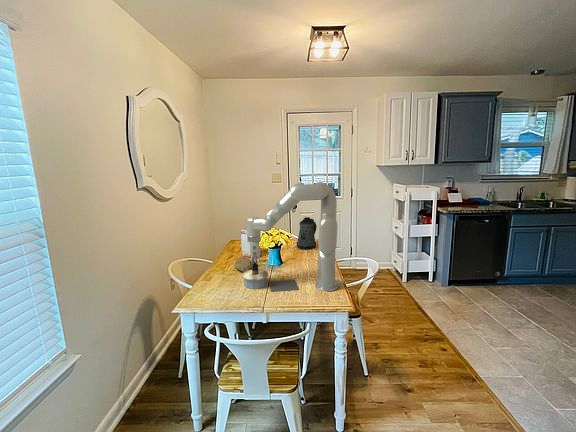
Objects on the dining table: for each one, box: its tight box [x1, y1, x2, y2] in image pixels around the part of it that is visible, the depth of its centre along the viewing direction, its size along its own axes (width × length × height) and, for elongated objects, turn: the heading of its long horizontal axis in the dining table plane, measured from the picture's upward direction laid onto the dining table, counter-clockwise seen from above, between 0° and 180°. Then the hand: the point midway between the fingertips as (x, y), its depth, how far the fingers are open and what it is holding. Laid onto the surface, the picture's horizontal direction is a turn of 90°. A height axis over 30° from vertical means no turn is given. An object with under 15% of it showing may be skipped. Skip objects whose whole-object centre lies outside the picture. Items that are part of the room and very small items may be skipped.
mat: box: [268, 279, 300, 293], centre depth 181 cm, size 16×16×1 cm
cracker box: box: [240, 228, 261, 259], centre depth 237 cm, size 14×6×21 cm, turn 58°
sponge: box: [234, 256, 252, 273], centre depth 211 cm, size 13×8×20 cm
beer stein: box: [296, 216, 318, 251], centre depth 261 cm, size 16×19×25 cm
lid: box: [241, 269, 269, 280], centre depth 182 cm, size 15×15×6 cm
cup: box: [243, 277, 268, 290], centre depth 183 cm, size 13×13×6 cm
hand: (254, 267), depth 181 cm, fingers open, 8 cm apart
